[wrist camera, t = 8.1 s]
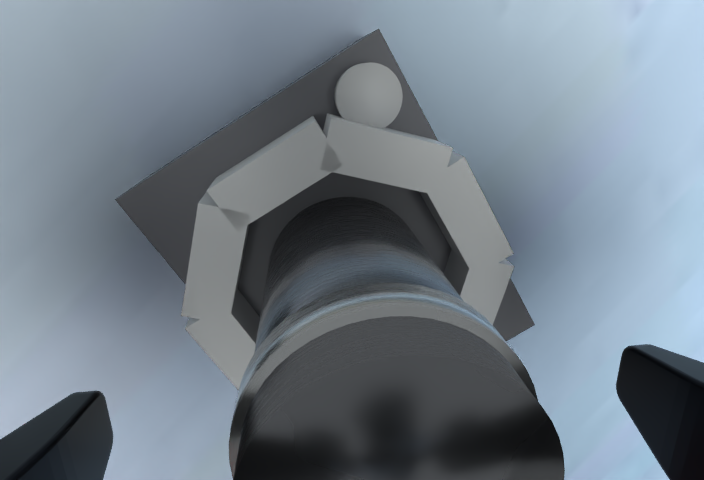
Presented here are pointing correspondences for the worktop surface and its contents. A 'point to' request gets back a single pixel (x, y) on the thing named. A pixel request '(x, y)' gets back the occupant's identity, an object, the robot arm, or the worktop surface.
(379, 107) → the camera body mount
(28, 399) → the worktop surface
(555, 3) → the worktop surface
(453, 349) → the lens
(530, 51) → the worktop surface
